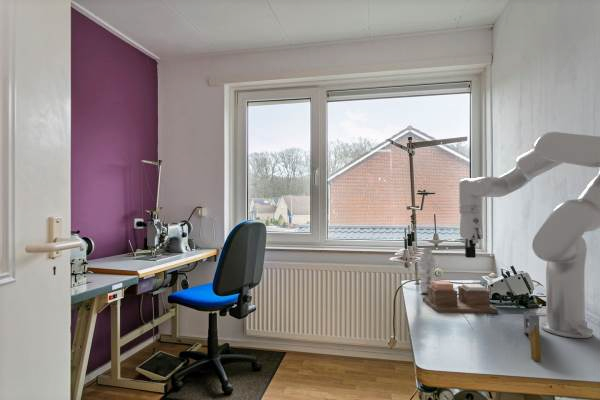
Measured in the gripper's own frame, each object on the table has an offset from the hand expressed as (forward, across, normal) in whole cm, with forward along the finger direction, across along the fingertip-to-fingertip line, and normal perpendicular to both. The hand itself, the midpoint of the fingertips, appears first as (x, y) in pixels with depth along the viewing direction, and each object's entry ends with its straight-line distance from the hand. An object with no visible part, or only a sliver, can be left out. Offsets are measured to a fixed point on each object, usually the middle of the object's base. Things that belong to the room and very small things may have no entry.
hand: (470, 257), depth 134 cm
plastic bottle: (+19, +20, +10) cm, 30 cm away
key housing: (+19, 0, +5) cm, 20 cm away
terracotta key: (+15, 0, +11) cm, 19 cm away
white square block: (+16, 0, -1) cm, 16 cm away
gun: (+20, -37, -1) cm, 41 cm away
